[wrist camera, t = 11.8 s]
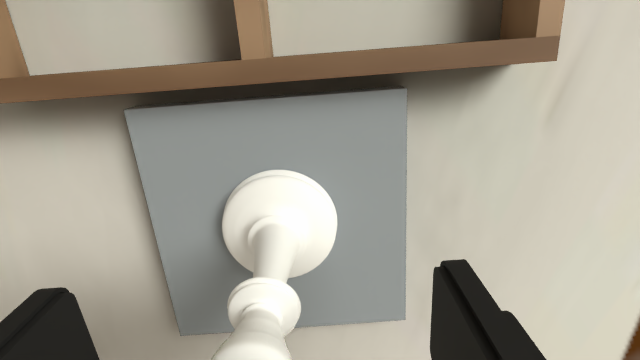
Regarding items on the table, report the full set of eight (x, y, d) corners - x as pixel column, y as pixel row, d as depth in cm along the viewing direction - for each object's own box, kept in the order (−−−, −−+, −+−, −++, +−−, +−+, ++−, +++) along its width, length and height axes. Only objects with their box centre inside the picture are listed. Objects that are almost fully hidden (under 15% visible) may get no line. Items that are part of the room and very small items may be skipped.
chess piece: (200, 206, 16) (25, 449, 6) (297, 147, 15) (268, 320, 5) (266, 288, 17) (207, 587, 8) (357, 238, 16) (419, 502, 7)
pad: (135, 106, 15) (123, 110, 14) (401, 86, 15) (407, 88, 14) (187, 321, 19) (180, 335, 18) (400, 306, 19) (405, 319, 18)
